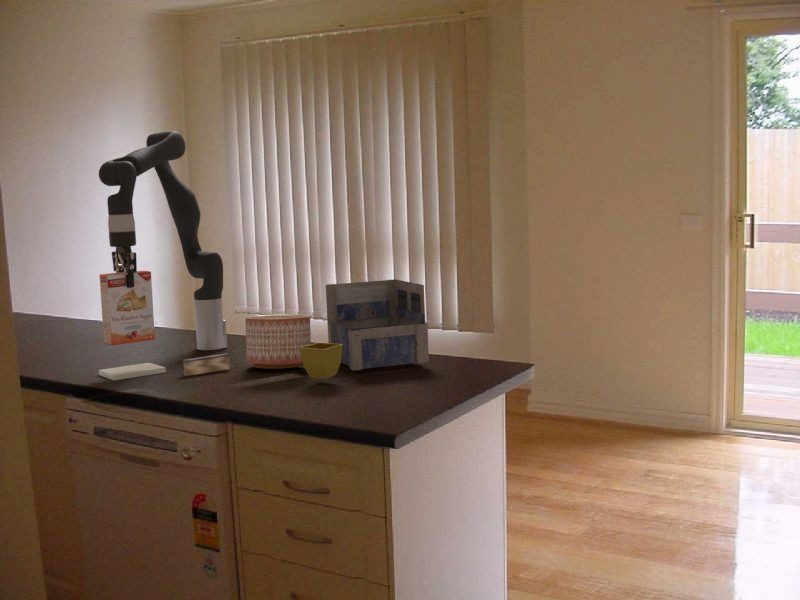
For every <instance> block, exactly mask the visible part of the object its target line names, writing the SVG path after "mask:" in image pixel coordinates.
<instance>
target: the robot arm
mask: <svg viewBox="0 0 800 600" xmlns="http://www.w3.org/2000/svg"><path fill="white" fill-rule="evenodd" d="M145 143H146V144H145V145H146V146H145V147H141V148H139V149H136V150H133V151H132V152H130V153H128V154H126V155H124V156H121V157H118V158H114V159H111V160H107V161H105V162H104V163H102V165H101V166H99V170H98V178H99V181H101V183H102V184H103V185H104V186H108V187H119V189H118V192H117V193H114V194H111V195H108V197H107V199H106V200H107V203H106V204H107V213H108V218H107V219H108V220H107V223H108V224H107V227H108V239H109V246H110V247H111V248H115V250H114V251H111V258H112V267H113V272H115V273H119V272H125V274H126V275H125V276H126V287H127V288H132V287H134V275H133V274H135V273H136V272H137V271H138V270H137V269H138V266H137V263H138V260H137V252H135V251H134V252H132V247H134V246H137V235H136V221H135V217H134V209H133V208H134V207H133V198H134V192H135V188H136V183H137V182H136V181H137V177H140V176H141V175H143V174H145V173H146V172H147V171H149V170H151V169H153V168H154V170H155V172H156V174H157V177H158V179H159V182H160V184H161V187H162V189H163V193H164V195H165V198H166V201H167V204H168V207H169V211H170V214H171V217H172V219H173V223H174V224H175V228H176V232H177V235H178V237H179V238H178V239H179V240H180V244H181V247H182V253H183V257H184V262H185V265H186V269H187V272H188V273H189V275H190V276H191V277H192V278H194V279H202V286H201V287H200V288H198V289H196V290H194V292H193V302H194V314H195V315H194V317H195V330H196V331H195V333H196V345H197V350H199V351H216V350H217V351H218V350H222V349H226V348H228V339H227V325H226V324H227V323H226V322H227V321H226V320H225V319H224V315H223V298H222V297H223V289H224V263H223V259H222V257H221V255H220V254H219V253H218V252H216V251H203V250H202V247H201V245H200V242H199V238H198V231H199V227H200V223H201V222H200V221H201V210H200V207H199V206H200V205H199V204H198V200H197V197H196V195H195V193H194V192H193V190H192V189H191V188H190V187H189V186H188V185H187V184H186V183H185V182H184V181H182V180H181V179H180V177H178V176H177V174H176V173H175V171H174V170H173V169H172V167H171V164H170V161H174V160H178V159H180V158H182V157H183V156H184V154H185V152H186V141H185V139H184V136H183V135H182V134H181V133H180V132H179V131H175V130H167V131H162V132H155V133H151V134H149V135H148V136H147V138H146V142H145Z"/></svg>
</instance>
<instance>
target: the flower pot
mask: <svg viewBox="0 0 800 600" xmlns="http://www.w3.org/2000/svg"><path fill="white" fill-rule="evenodd" d="M300 350H301V356H302V361H303V365H304V366H303V367H304V369H305V372H306V373H307V374H308V376H309V377H310V378H312V379H322V380H325V379H328V378H332V377H334V376H336V374H337V373H338V371H339V369H340V366H341V364H342V363H341V356H342V344H333V343H328V342H316V343H313V344H311V345H308V346H304V347H301V348H300Z"/></svg>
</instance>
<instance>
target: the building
mask: <svg viewBox="0 0 800 600" xmlns="http://www.w3.org/2000/svg"><path fill="white" fill-rule="evenodd" d="M325 298H326V301H325V302H326V321H327V323H326V324H327V338H328V339H327V341H328V342H327V343H333V344H342V356H341V363H340V364H344V365H345V366H348V367H349V369H350V370H352V371H362V370H363V369H374V368H381V367H382V368H383V367H390V366H391V367H392V366H397V365H398V366H399V365H409V364H422V363H423V364H424V363H429V362H430V358H429V357H430V356H429V355H430V354H429V353H430V352H429V350H430V349H429V327H428V323H426V308H425V285H424V284H421V283H415V282H411V281H405V280H400V279H394V278H393V279H385V280H372V281H371V280H369V281H360V282H345V283H344V282H343V283H330V284H325Z"/></svg>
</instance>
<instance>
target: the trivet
mask: <svg viewBox="0 0 800 600" xmlns="http://www.w3.org/2000/svg"><path fill="white" fill-rule="evenodd" d="M166 372H167V370H166V366H161V365H159V364H157V363H152V362H145V363H137V364H132V365H131V364H130V365H125V366H119V367H118V366H117V367H110V368H104V369H98V375H99V376H101V377H103V378H105V379H109V380H111V381H118V380H119V381H120V380H125V379H132V378H139V377H144V376H152V375H159V374H164V373H166Z"/></svg>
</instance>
